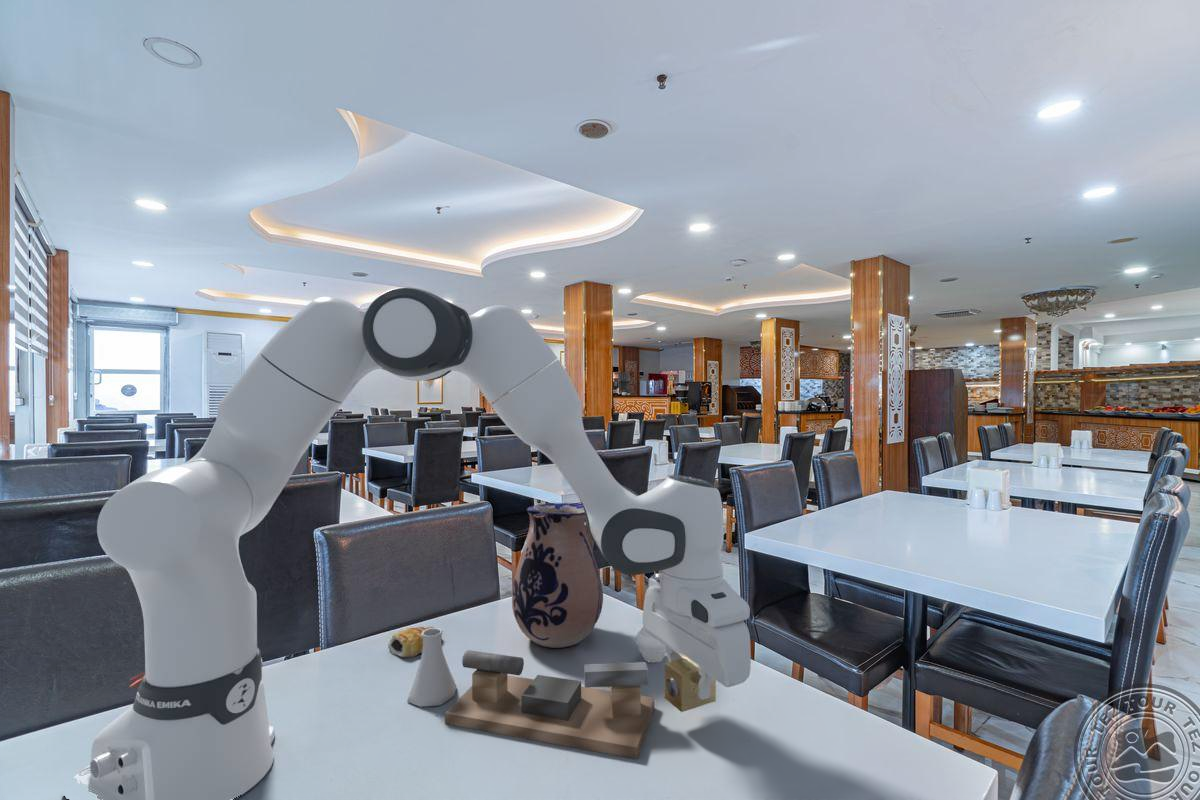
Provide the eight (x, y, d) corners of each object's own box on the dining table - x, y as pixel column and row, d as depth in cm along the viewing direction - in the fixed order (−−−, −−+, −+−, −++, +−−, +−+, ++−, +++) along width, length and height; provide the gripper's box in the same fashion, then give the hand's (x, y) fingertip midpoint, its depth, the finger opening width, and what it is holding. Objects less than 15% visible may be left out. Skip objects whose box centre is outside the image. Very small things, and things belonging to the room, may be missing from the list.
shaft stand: (445, 723, 78) (444, 669, 78) (485, 681, 89) (485, 634, 89) (637, 759, 70) (636, 699, 70) (654, 707, 81) (654, 656, 81)
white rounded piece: (628, 659, 97) (628, 619, 96) (649, 647, 101) (649, 609, 101) (657, 671, 92) (657, 629, 92) (677, 657, 97) (677, 618, 97)
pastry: (428, 634, 108) (428, 615, 108) (450, 643, 104) (449, 623, 104) (384, 652, 100) (384, 631, 100) (406, 663, 96) (406, 641, 96)
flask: (442, 711, 81) (442, 644, 81) (398, 706, 82) (398, 640, 82) (464, 685, 88) (463, 624, 88) (423, 681, 90) (422, 620, 89)
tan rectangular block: (679, 712, 74) (680, 676, 74) (662, 698, 78) (663, 663, 78) (717, 700, 78) (717, 665, 78) (699, 687, 81) (699, 653, 81)
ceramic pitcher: (493, 649, 101) (493, 514, 100) (548, 608, 120) (547, 494, 120) (580, 667, 94) (579, 522, 94) (623, 620, 113) (622, 500, 113)
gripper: (633, 572, 85) (632, 660, 85) (721, 620, 67) (720, 731, 67) (666, 566, 88) (665, 652, 88) (759, 610, 70) (758, 717, 70)
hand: (690, 687), depth 78 cm, fingers closed on tan rectangular block, 4 cm apart
